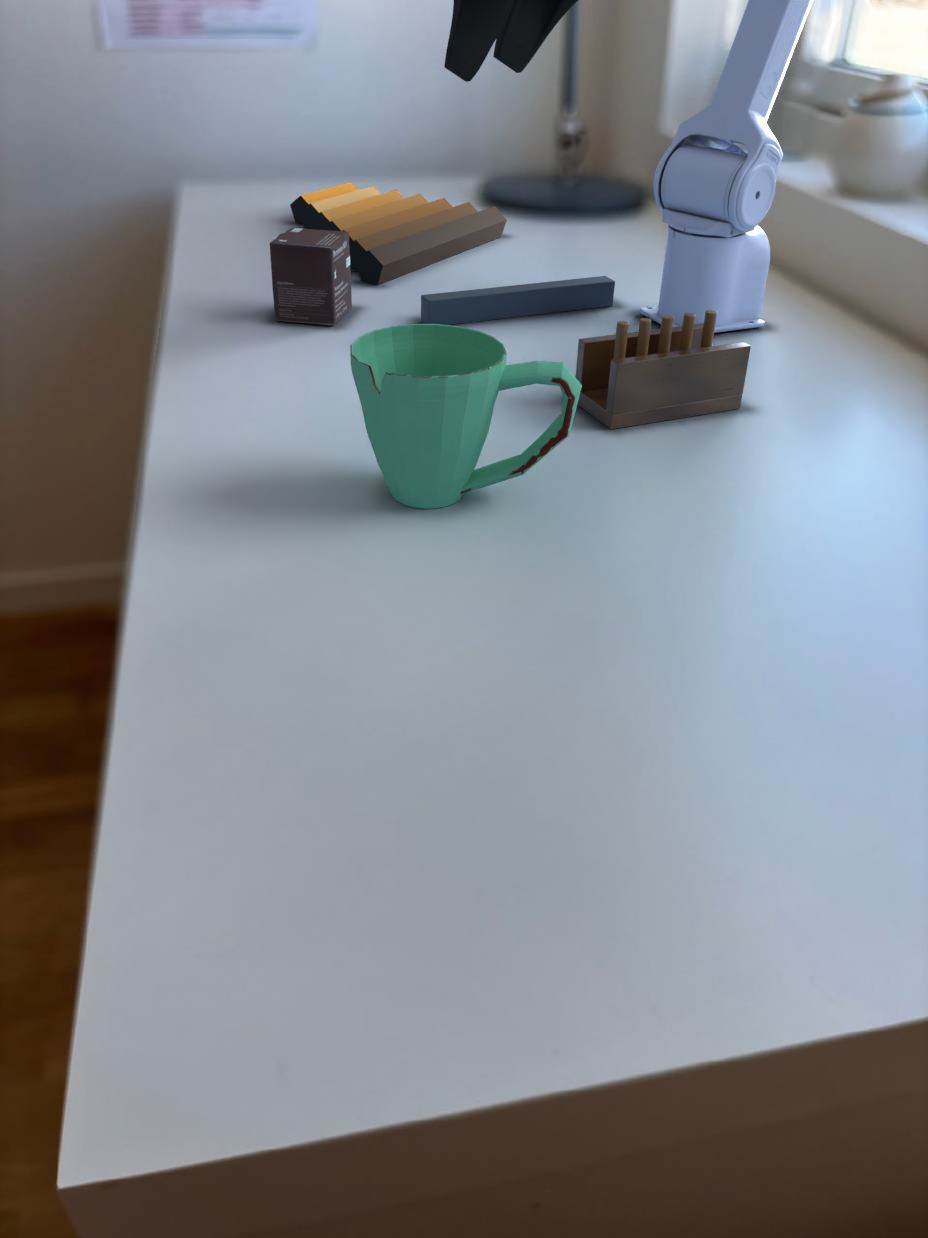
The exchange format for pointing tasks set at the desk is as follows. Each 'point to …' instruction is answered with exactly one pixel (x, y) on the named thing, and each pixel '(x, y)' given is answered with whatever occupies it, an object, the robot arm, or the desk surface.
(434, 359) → the mug
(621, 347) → the rack
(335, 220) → the ridged wooden panel
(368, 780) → the desk surface
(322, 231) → the box
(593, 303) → the rail
